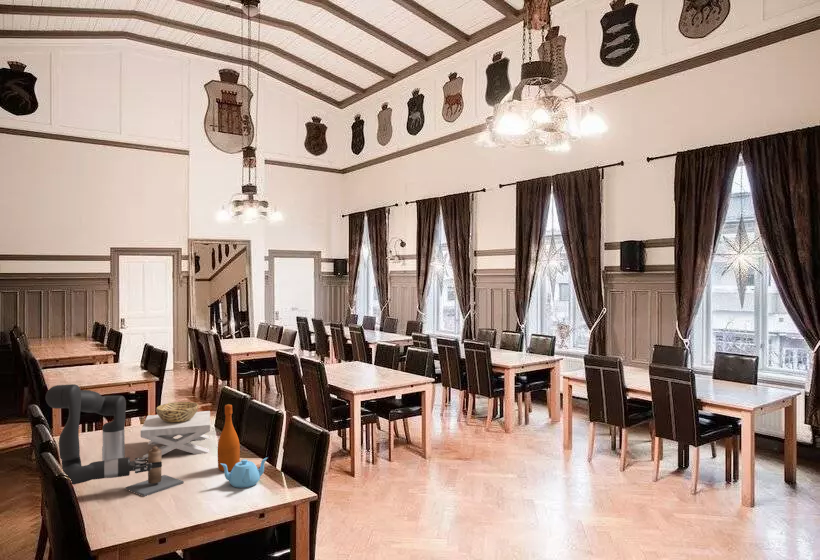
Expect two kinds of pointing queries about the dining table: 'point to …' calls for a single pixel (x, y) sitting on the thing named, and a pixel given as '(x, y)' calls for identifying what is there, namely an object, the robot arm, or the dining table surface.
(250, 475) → the teapot
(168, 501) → the dining table surface
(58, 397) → the robot arm
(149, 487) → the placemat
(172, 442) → the white x-leg bench
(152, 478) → the pepper mill
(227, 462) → the wine bottle
